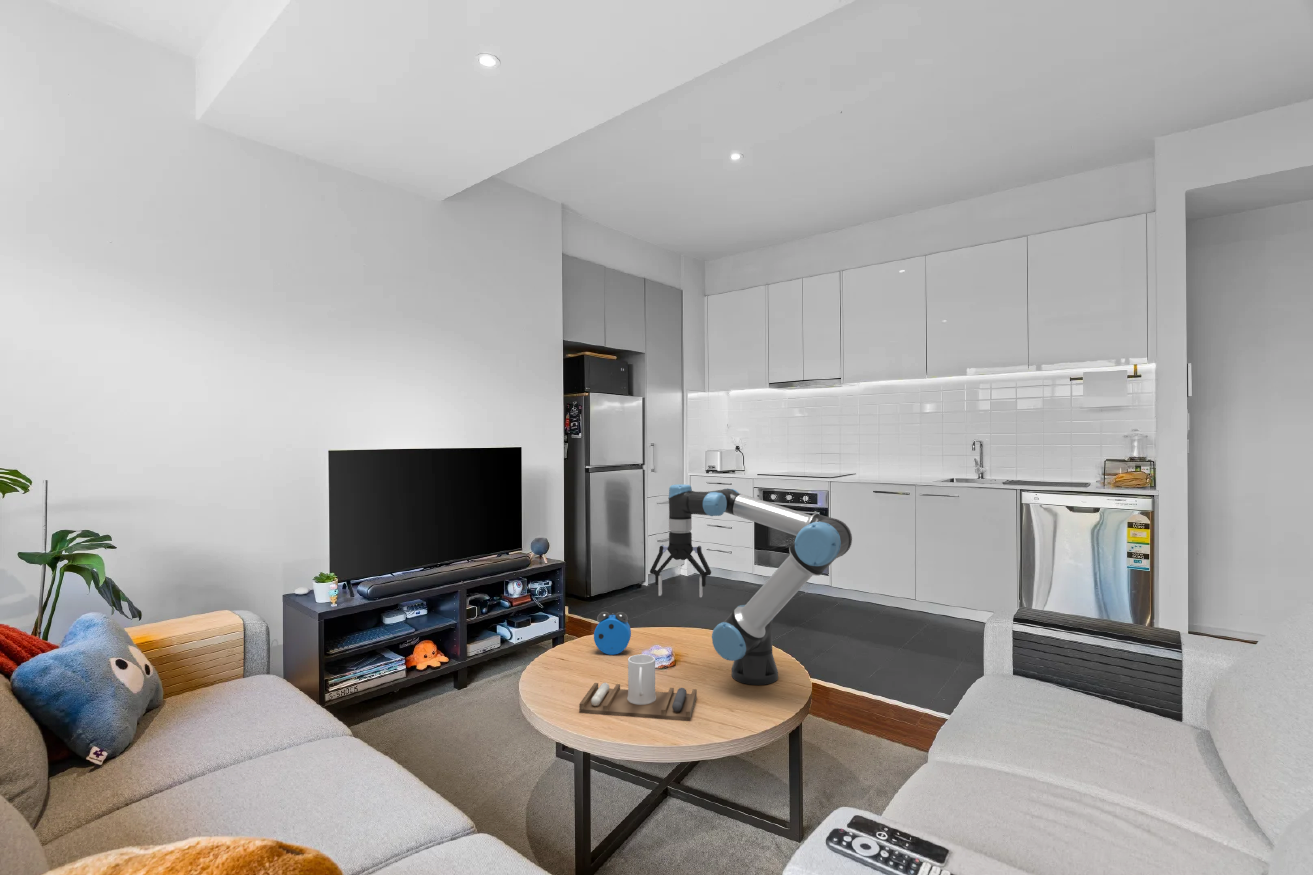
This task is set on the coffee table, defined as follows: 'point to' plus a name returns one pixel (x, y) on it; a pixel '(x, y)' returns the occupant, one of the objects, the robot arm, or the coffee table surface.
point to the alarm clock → (612, 633)
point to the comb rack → (620, 705)
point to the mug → (641, 679)
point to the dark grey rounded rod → (679, 699)
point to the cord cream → (600, 694)
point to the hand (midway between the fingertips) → (680, 595)
